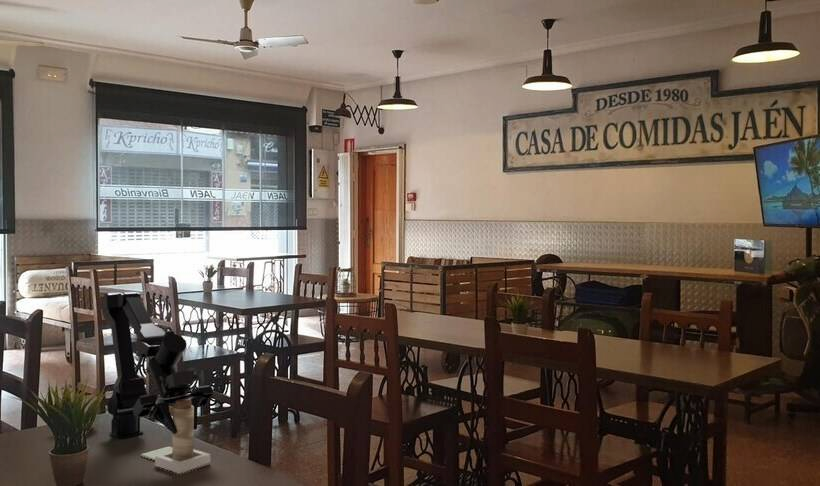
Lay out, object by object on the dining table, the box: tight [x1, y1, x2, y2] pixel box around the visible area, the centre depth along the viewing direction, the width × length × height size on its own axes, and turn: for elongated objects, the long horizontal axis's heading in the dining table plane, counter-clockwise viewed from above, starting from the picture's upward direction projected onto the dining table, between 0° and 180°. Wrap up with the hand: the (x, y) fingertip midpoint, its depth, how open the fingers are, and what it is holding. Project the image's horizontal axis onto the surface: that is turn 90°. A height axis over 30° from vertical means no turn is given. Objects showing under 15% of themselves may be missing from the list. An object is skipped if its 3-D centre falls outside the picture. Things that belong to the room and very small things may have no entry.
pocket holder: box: [154, 448, 211, 473], centre depth 174 cm, size 9×9×2 cm
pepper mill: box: [171, 399, 195, 461], centre depth 174 cm, size 5×5×15 cm
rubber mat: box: [140, 446, 172, 461], centre depth 181 cm, size 8×8×1 cm
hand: (185, 431), depth 173 cm, fingers closed on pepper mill, 5 cm apart
